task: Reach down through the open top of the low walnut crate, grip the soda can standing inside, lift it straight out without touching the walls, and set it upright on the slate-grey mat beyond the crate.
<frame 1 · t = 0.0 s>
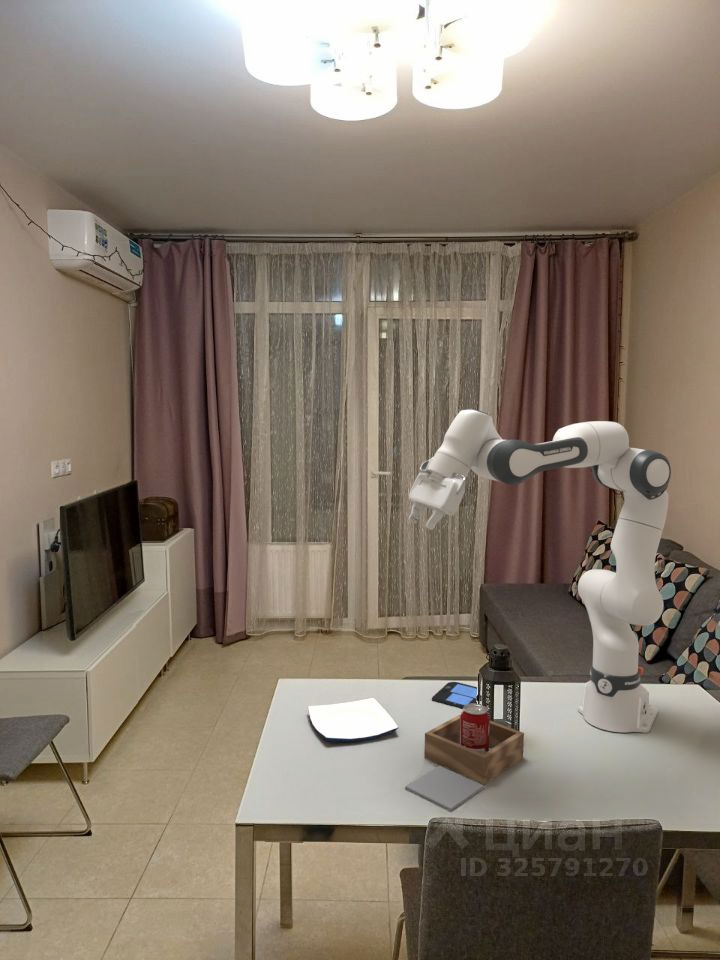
hand: (419, 525, 158), 54 cm above the table, tool tilted 30°, fingers open, 8 cm apart
soda can: (473, 758, 160), resting in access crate
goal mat: (444, 788, 147), on the table
plate: (351, 727, 176), on the table
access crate: (473, 757, 160), on the table
game console: (463, 701, 193), on the table
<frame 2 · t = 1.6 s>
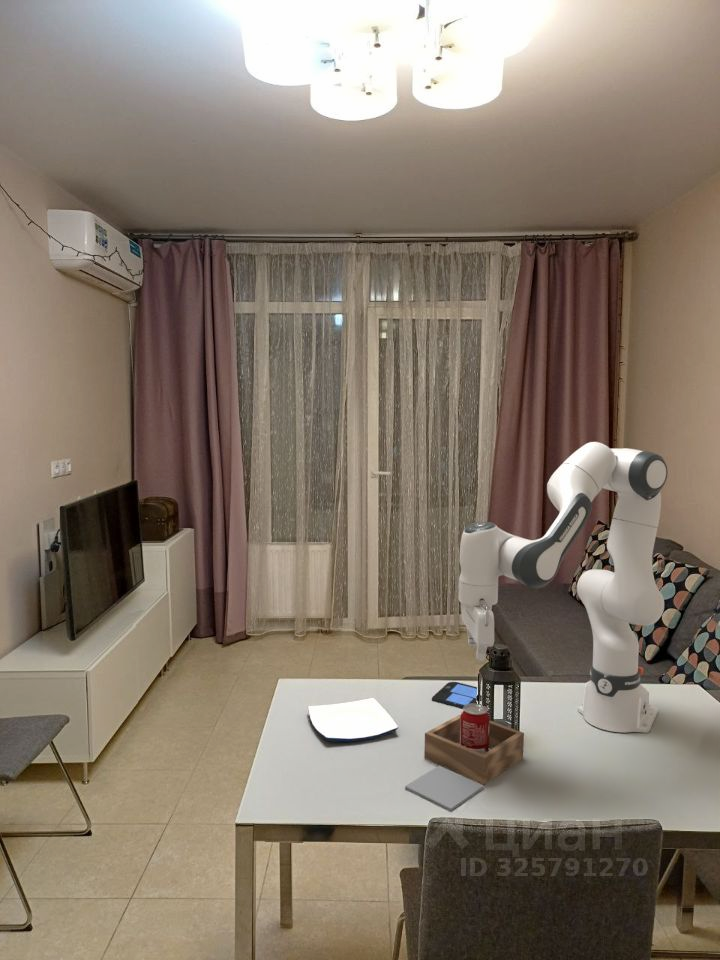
hand: (476, 652, 157), 25 cm above the table, tool pointing down, fingers open, 8 cm apart
nothing on the table moved.
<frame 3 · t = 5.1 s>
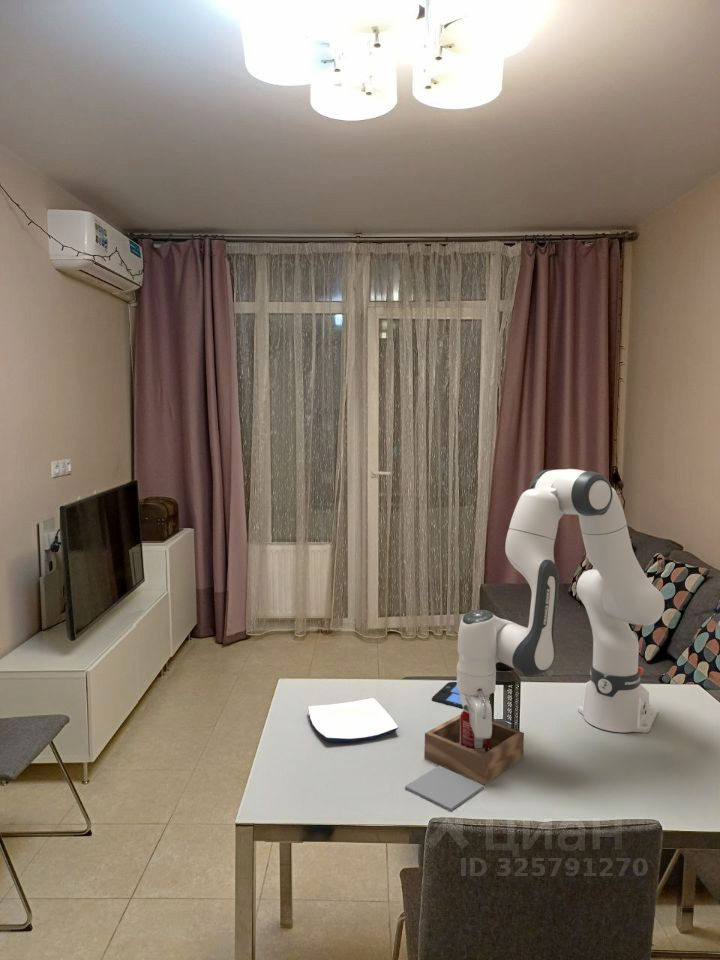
hand: (474, 738, 159), 5 cm above the table, tool pointing down, fingers closed on soda can, 6 cm apart
soda can: (473, 758, 160), resting in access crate, touching gripper
everything else where it was.
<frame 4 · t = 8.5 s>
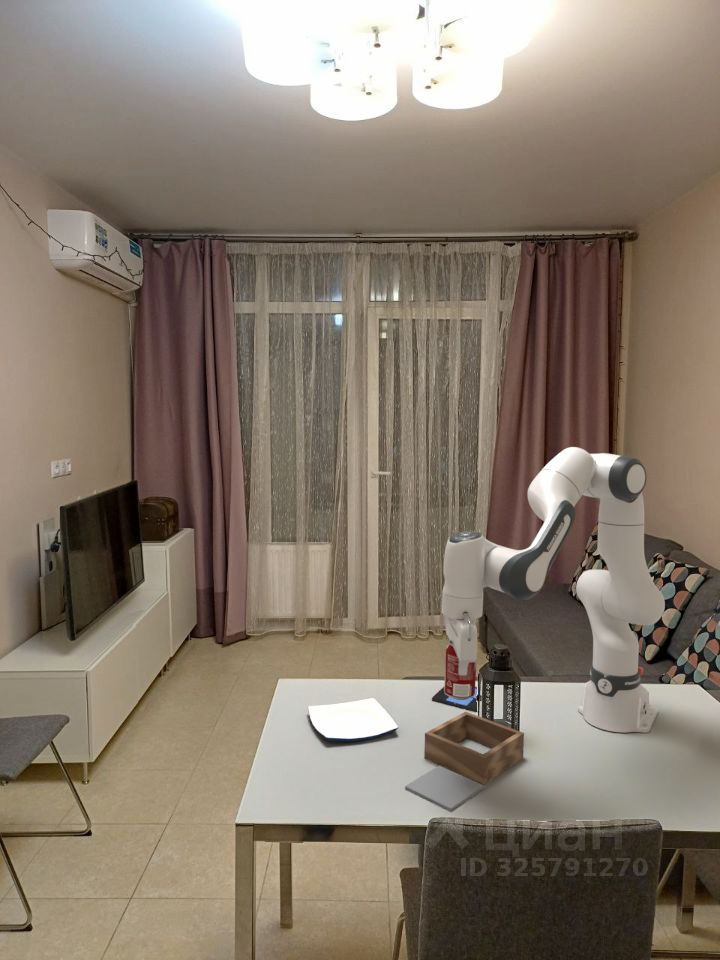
hand: (459, 668, 150), 24 cm above the table, tool pointing down, fingers closed on soda can, 6 cm apart
soda can: (459, 696, 151), point 18 cm above the table, touching gripper
everything else where it was.
when the fingers open (7 cm above the table, at t = 12.0 s): soda can stays where it is, resting on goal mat.
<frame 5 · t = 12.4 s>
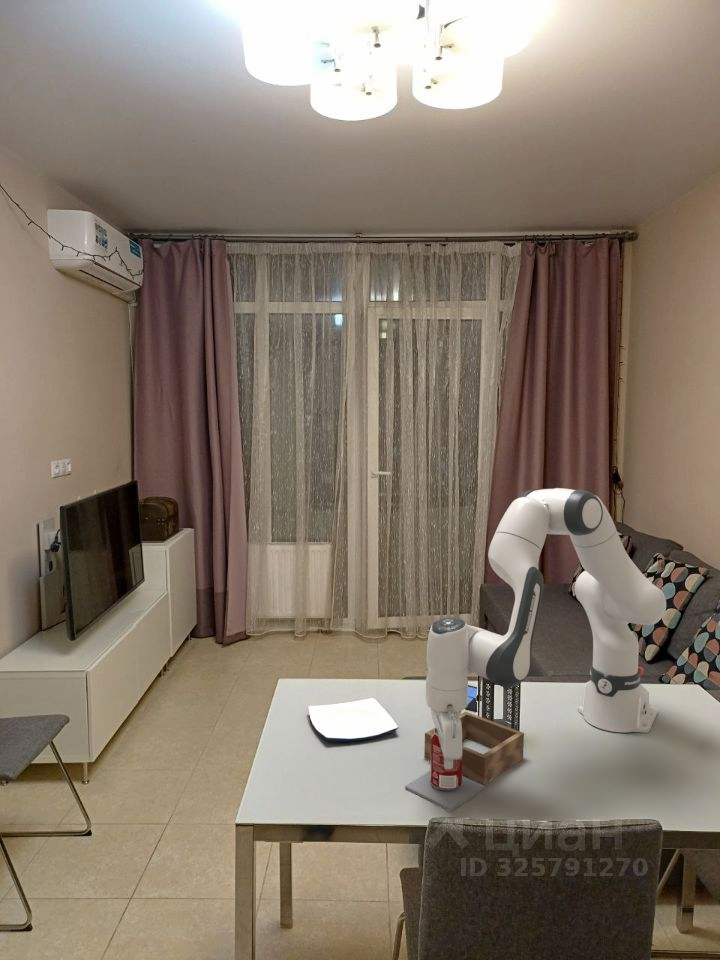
hand: (445, 758, 146), 7 cm above the table, tool pointing down, fingers open, 6 cm apart
soda can: (445, 785, 147), resting on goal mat
everything else where it was.
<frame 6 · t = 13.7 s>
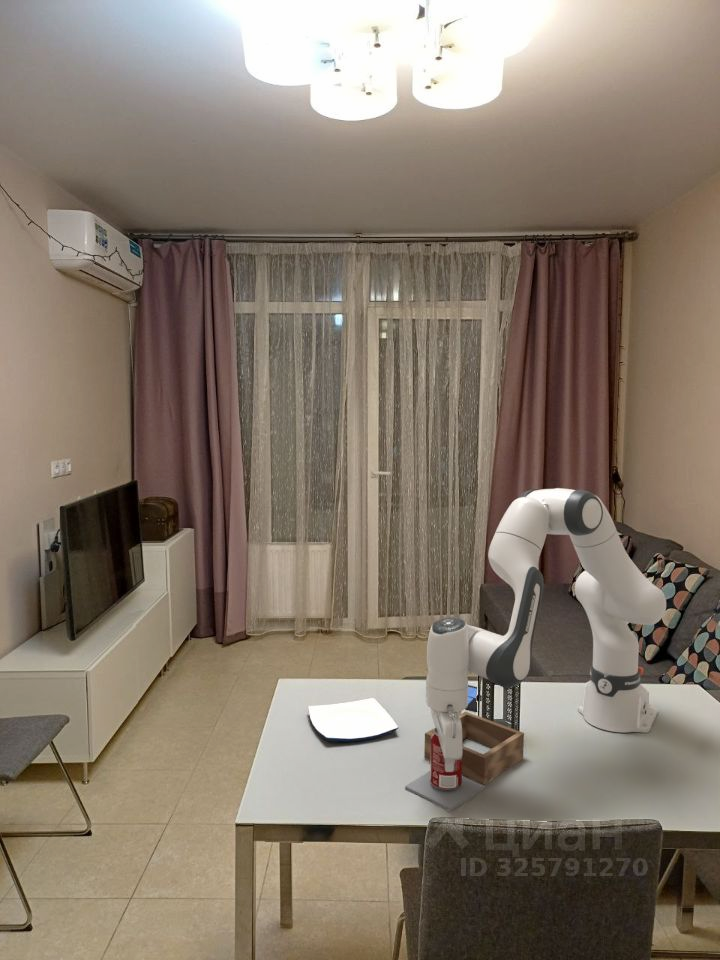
hand: (445, 758, 146), 7 cm above the table, tool pointing down, fingers open, 8 cm apart
nothing on the table moved.
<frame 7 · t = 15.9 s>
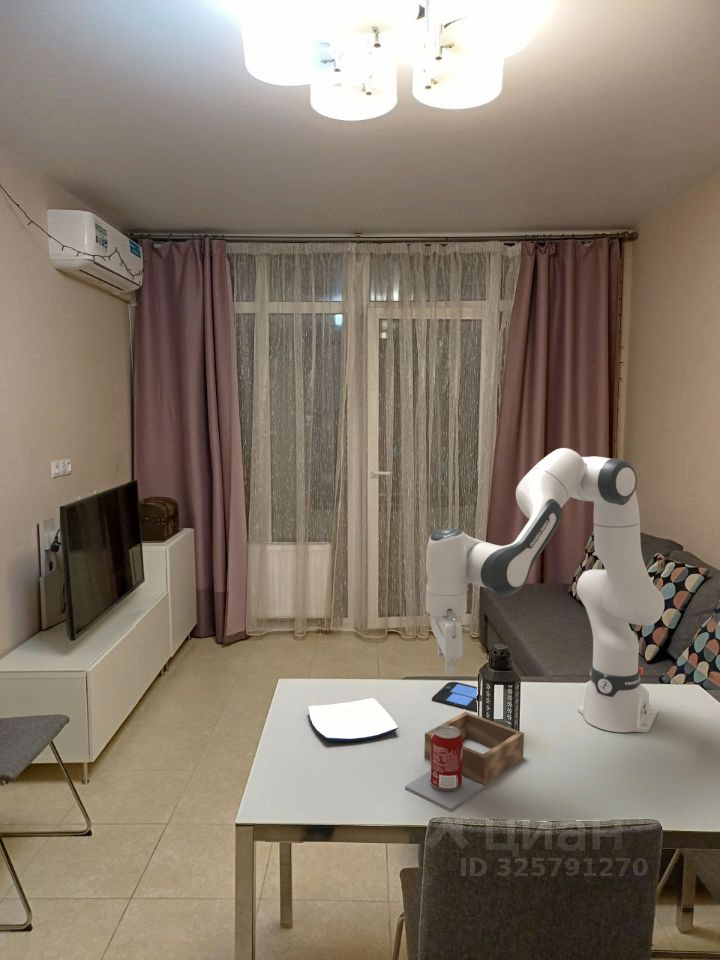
hand: (445, 664, 151), 25 cm above the table, tool pointing down, fingers open, 8 cm apart
nothing on the table moved.
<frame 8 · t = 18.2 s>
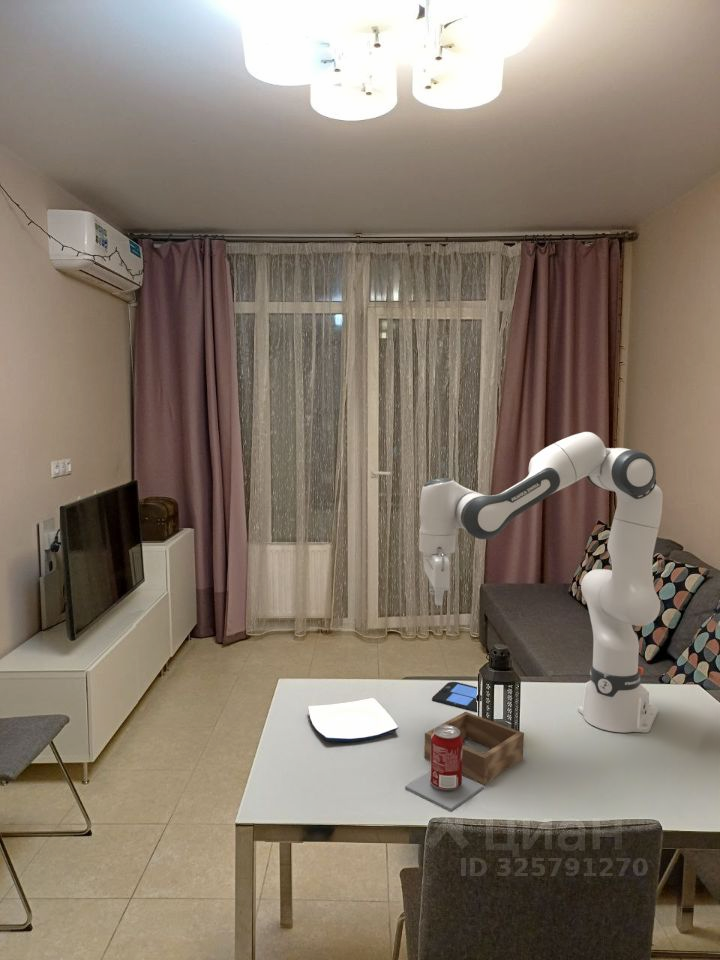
hand: (435, 599, 170), 34 cm above the table, tool pointing down, fingers open, 8 cm apart
nothing on the table moved.
at the end: soda can inside the target area on the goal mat (0.5 cm from its centre), point 0.4 cm above the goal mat's base; soda can tilted 0°; soda can touching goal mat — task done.
